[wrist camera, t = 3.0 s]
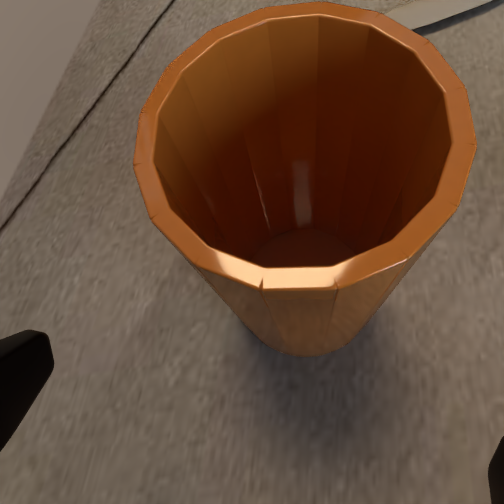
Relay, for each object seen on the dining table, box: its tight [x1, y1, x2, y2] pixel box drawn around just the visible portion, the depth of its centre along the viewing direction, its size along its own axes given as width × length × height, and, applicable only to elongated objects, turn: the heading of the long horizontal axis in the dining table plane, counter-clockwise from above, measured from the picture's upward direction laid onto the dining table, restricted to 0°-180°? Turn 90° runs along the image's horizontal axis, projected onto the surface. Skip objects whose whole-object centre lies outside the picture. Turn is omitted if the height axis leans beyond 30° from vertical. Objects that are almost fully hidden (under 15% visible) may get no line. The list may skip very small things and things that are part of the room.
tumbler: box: [133, 1, 477, 357], centre depth 14 cm, size 7×7×13 cm
